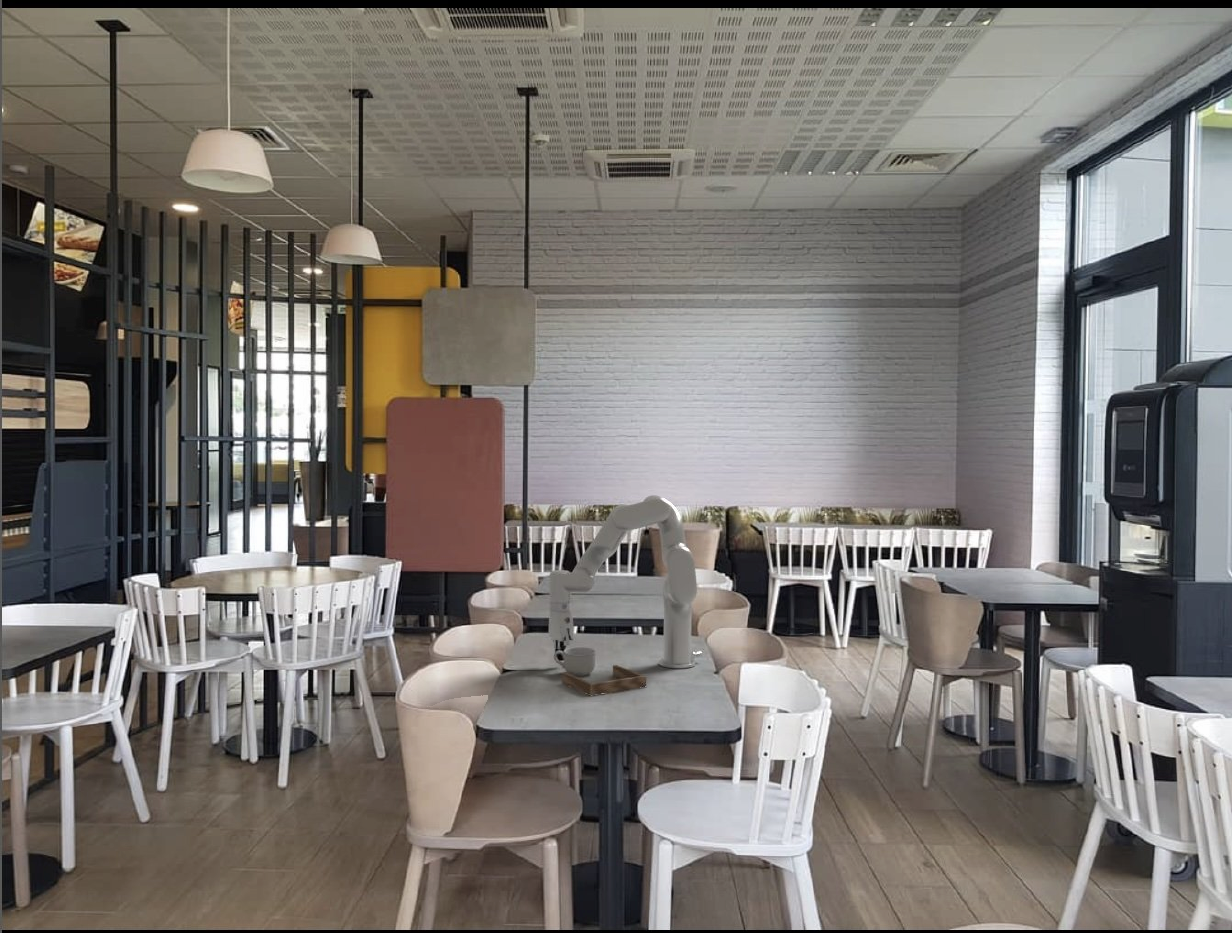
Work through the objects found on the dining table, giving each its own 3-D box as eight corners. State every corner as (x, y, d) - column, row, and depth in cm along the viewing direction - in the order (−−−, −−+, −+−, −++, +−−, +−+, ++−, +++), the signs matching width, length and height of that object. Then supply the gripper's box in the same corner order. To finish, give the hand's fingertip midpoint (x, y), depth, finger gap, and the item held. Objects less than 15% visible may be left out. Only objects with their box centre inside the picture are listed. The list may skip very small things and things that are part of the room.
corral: (615, 675, 322) (616, 665, 322) (646, 687, 307) (646, 676, 307) (562, 683, 311) (562, 672, 311) (590, 696, 296) (590, 684, 296)
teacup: (599, 671, 328) (599, 647, 327) (590, 679, 317) (590, 654, 317) (560, 668, 331) (560, 645, 331) (549, 675, 321) (549, 651, 321)
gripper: (580, 609, 328) (580, 663, 329) (559, 602, 341) (559, 654, 341) (561, 611, 324) (561, 665, 325) (540, 604, 337) (540, 657, 337)
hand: (560, 660), depth 333 cm, fingers closed
